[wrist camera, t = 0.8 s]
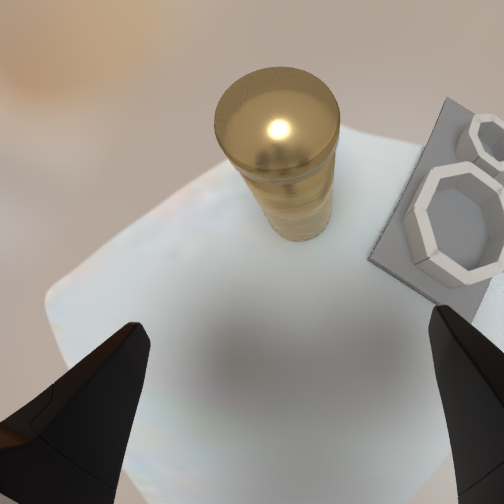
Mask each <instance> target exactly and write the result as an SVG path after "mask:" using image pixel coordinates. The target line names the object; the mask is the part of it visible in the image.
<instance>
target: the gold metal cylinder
mask: <svg viewBox="0 0 504 504" xmlns="http://www.w3.org/2000/svg"><path fill="white" fill-rule="evenodd" d="M214 123H215V124H214V128H215V135H216V138H217V141H218V143H219V145H220V147H221V148H222V150H223V151H224V153H225V154H226V156H227V158H228V159H229V161H230V162H231V164H232V165H233V166H234V167H235V168H236V170H238V171H239V172H240V174H241V176H242V177H243V179H244V181H245V182H246V184H247V185H248V187H249V189H250V190H251V192H252V194H253V195H254V197H255V199H256V200H257V202H258V204H259V205H260V207H261V209H262V210H263V212H264V214H265V215H266V217H267V219H268V220H269V222H270V224H271V225H272V227H273V229H274V230H275V231H276V232H277V233H278V234H279V235H281V236H282V237H284V238H286V239H289V240H292V241H306V240H309V239H312V238H314V237H316V236H317V235H319V234H320V233H321V232H322V231H323V230H324V228H325V227H326V225H327V223H328V221H329V218H330V210H331V200H332V189H333V178H334V165H335V151H336V148H337V145H338V140H339V130H340V111H339V107H338V104H337V101H336V99H335V97H334V95H333V94H332V92H331V91H330V89H329V88H328V87H327V86H326V84H324V83H323V82H322V81H321V80H320V79H319V78H317V77H316V76H314V75H312V74H310V73H308V72H305V71H303V70H299V69H296V68H289V67H272V68H265V69H261V70H258V71H255V72H252V73H249V74H247V75H246V76H244V77H242V78H240V79H239V80H237V81H236V82H235V83H234V84H232V85H231V86H230V87H229V89H227V90H226V91H225V93H224V94H223V96H222V97H221V99H220V101H219V103H218V105H217V108H216V112H215V120H214Z"/></svg>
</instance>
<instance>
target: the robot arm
mask: <svg viewBox="0 0 504 504" xmlns="http://www.w3.org/2000/svg"><path fill="white" fill-rule="evenodd" d="M428 332H429V338H430V343H431V349H432V355H433V362H434V368H435V374H436V379H437V384H438V388H439V392H440V396H441V400H442V404H443V409H444V413H445V418H446V423H447V428H448V433H449V438H450V444H451V450H452V455H453V461H454V469H455V476H456V484H457V493H458V504H504V353H503V352H502V351H501V350H500V349H499V348H498V347H497V346H495V345H494V344H493V343H492V342H491V341H490V340H489V339H488V338H486V337H485V336H484V335H483V334H482V333H481V332H479V331H478V330H477V329H476V328H475V327H474V326H472V325H471V324H470V323H469V322H468V321H467V320H465V319H464V318H463V317H462V316H461V315H459V314H458V313H457V312H456V311H455V310H453V309H452V308H451V307H450V306H448V305H446V304H444V305H437V306H435V307H434V308H433V311H432V315H431V319H430V323H429V327H428ZM150 346H151V343H150V339H149V337H148V335H147V333H146V331H145V329H144V328H143V326H142V324H141V323H139V322H129V323H127V324H126V325H125V326H123V327H122V328H121V329H120V330H118V331H117V332H116V333H115V334H113V335H112V336H111V337H110V338H108V339H107V340H106V341H105V342H103V343H102V344H101V345H100V346H98V347H97V348H96V349H95V350H93V351H92V352H91V353H90V354H88V355H87V356H86V357H85V358H84V359H82V360H81V361H80V362H79V363H77V364H76V365H75V366H74V367H73V368H71V369H70V370H69V371H68V372H66V373H65V374H64V375H63V376H62V377H60V378H59V379H58V380H57V381H55V383H54V384H52V385H51V386H49V387H48V388H47V389H46V390H44V391H43V392H42V393H41V394H39V395H38V396H37V397H36V398H34V399H33V400H32V401H30V402H29V403H27V404H26V405H25V406H23V407H22V408H20V409H19V410H18V411H16V412H15V413H13V414H12V415H10V416H9V417H8V418H6V419H5V420H3V421H2V422H0V504H113V503H114V499H115V495H116V491H115V490H116V489H117V485H118V481H119V476H120V472H121V468H122V464H123V459H124V455H125V451H126V447H127V443H128V440H129V436H130V432H131V428H132V424H133V421H134V417H135V413H136V410H137V406H138V402H139V399H140V395H141V392H142V388H143V384H144V379H145V373H146V368H147V362H148V357H149V352H150Z"/></svg>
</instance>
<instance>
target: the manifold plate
mask: <svg viewBox="0 0 504 504" xmlns="http://www.w3.org/2000/svg"><path fill="white" fill-rule="evenodd" d="M368 260H369V261H370V262H372V263H374V264H375V265H377V266H378V267H380V268H382V269H383V270H385V271H386V272H388V273H389V274H391V275H393V276H394V277H396V278H397V279H399V280H400V281H402V282H403V283H405V284H406V285H408V286H409V287H411V288H413V289H414V290H416V291H417V292H419V293H420V294H422V295H423V296H425V297H426V298H428V299H429V300H431V301H432V302H434V303H435V304H437V305H444V304H446V305H448V306H450V307H451V308H452V309H453V310H455V311H456V312H457V313H458V314H459V315H461V316H462V317H463V318H464V319H465V320H467V321H468V322H469V323H470V324H471V323H472V321H473V318H474V316H475V314H476V312H477V310H478V308H479V306H480V304H481V302H482V299H483V297H484V295H485V293H486V290H487V288H488V286H489V283H490V281H491V279H492V277H493V276H496V275H499V274H501V273H503V272H504V122H503V121H502V120H500V119H499V118H497V117H496V116H494V115H493V114H491V113H489V114H477V115H475V114H474V113H472V112H471V111H469V110H468V109H466V108H465V107H463V106H461V105H460V104H458V103H457V102H455V101H453V100H452V99H450V98H448V97H447V98H446V100H445V102H444V104H443V107H442V109H441V112H440V114H439V117H438V119H437V122H436V124H435V127H434V129H433V131H432V133H431V136H430V138H429V140H428V143H427V145H426V147H425V149H424V151H423V154H422V156H421V158H420V160H419V162H418V164H417V167H416V169H415V171H414V173H413V175H412V177H411V179H410V181H409V183H408V185H407V187H406V189H405V191H404V193H403V195H402V197H401V199H400V201H399V203H398V205H397V207H396V209H395V211H394V213H393V215H392V217H391V219H390V221H389V223H388V224H387V226H386V228H385V230H384V232H383V234H382V236H381V237H380V239H379V241H378V243H377V245H376V246H375V248H374V250H373V252H372V254H371V255H370V257H369V259H368Z"/></svg>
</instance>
